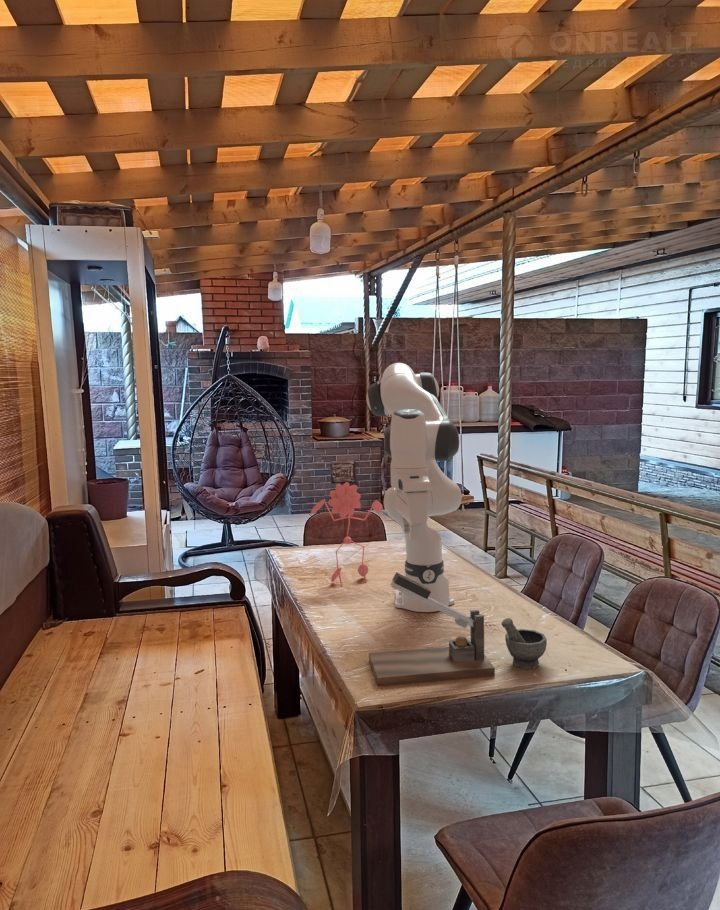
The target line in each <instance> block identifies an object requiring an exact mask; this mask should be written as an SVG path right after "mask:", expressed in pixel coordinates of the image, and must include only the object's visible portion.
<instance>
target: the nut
mask: <svg viewBox="0 0 720 910" xmlns="http://www.w3.org/2000/svg"><path fill="white" fill-rule="evenodd" d="M467 639H468V638H467V637H466V636H464V635H458V636H457V637H456V638H455V639H454V640H455V643H456V645H457V647H466V646H467V644H468V641H467Z"/></svg>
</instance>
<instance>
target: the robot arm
mask: <svg viewBox="0 0 720 910" xmlns="http://www.w3.org/2000/svg"><path fill="white" fill-rule="evenodd" d="M439 396H440V386H439V383H438V381H437V379H436V377H435V376H434V374H432V373H431V372H424V371H423V372H420V373H416V372H414V371H413V369H412V367H410V366H409V365H408V364H407V363H403V362H395V363H392V364H390V365H388V366H387V367H386V368H385V370H384V371H383V373H382V376H381V379H380V381H375V382H374V383H372V384H371V385H370V386H369V387H368V388H367V393H366V404H367V407H368V408H369V410H370V411H371V414H373V415H374V416H376V417H386V416H391V421H390V424H389V425H388V426H387V427H386V428H385V429H384V430H383V432H382V433H383V437H384V450H383V454H385V455H386V456H388V457H389V458H390V459H391V460H390V461H391V462H390V465H389V466H390V486H391V487H389V488H388V489H387V490H386V492H385V494H384V497H383V507H384V510H385V512H386V514H388V516H389V517H390V518H392V519H393V520H394V521H396V523H397V524H398V525H399V526H400V528H401V529H402V532H403V535H404V539H405V540H404V541H405V551H406V552H405V553H406V554H405V555H406V559H405V562H404V573H403V574H402V575H403V576H405V577H407V578H409V579H411V580H413V581H415V582H417V583H419V584H421V585H423V586H425V587H427V588H429V590H430V591H431V593H430V595H429V597H430V598H432V599H434V600H436V601H438V602H440V603H442V604H444V605H446V606H448V607H450V606H451V605H454V604H455V599H454V598H452V597H451V596H450V581H449V577H448V576H447V575H445V573H444V572H445V571H444V569H445V564H444V563H445V562H444V559H443V541H442V539H443V538H442V536H441V534H440V533H439V532H438V531H437V530H435V529H434V528H431V527H429V526H428V523H427V521H428V517H430V518H431V517H434V516H435V517H436V516H443V515H447V514H450V513H452V512H454V511H457V510H458V509H459V508H460V506H461V503H462V499H463V495H462V491H461V488H460V487H459V485H458V484H457V483H456V482H455V481H454V480H452V479H450V478H449V477H448V476H447V475H446V474H445V473H444V472H443V471H442V469H441V468H440V467H439V464H438V462H437V461H442V462H443V461H444V462H445V461H446V462H447V461H449V460H451V459H452V458H453V457H454V456H455V455H456V454H457V453H458V452H459V449H460V448H459V447H460V435H459V434H460V433H459V432H458V429H457V426H456V425H455V424H454V422H452V421H451V420H450V419H449V417H448V416H447V414H446V412H445V410H444V409H443V407H442V405H441V404H440V401H439ZM394 599H395V600H394V601H395V602H394V607H395V608H398V609H405V610H408V611H411V612H417V613H419V612H420V613H432V612H433V613H435V612H439V610H437V609H435V608H433V607H431V606H429V605H427V604H425V603H423V602H421V601H419V600H417V599H415V598H413V597H411V596H409V595H407V594H405V593H403V592H401V591H399V590H397V589H395V598H394Z"/></svg>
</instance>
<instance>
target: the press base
mask: <svg viewBox="0 0 720 910" xmlns="http://www.w3.org/2000/svg"><path fill="white" fill-rule="evenodd" d="M469 612H470V613H469V614H470V615H469V617H471V618H473V619H475V628H474V627H472V626H470V625H469V627H470V628H469V629H470V639H469V638H467V641H468V644H467V646H466V647H457V645H456V643H455V640H456V639H454V640H453V639H452V640H448V646H439V647H430V648H417V649H404V650H391V651H378V652H377V651H376V652H369V653H368V660H369V664H370V667H371V669H372V673H373V676H374V678H375V683H376V685H377V687H382V686H384V687H385V686H396V685H404V684H405V685H406V684H417V683H418V684H419V683H429V682H441V681H451V680H463V679H471V678H472V679H473V678H485V677H495V675H496V672H495V671H496V669H495V666H494V665H493V663H492V662H491V661H490V660H489V659H488V657H487V655H486V654H485V615H483V614H480V610H479V609H471V610H470V611H469Z"/></svg>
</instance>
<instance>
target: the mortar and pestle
mask: <svg viewBox="0 0 720 910" xmlns="http://www.w3.org/2000/svg"><path fill="white" fill-rule="evenodd" d="M501 626H502V628H504V629H505V631H506V633H505V645H506V648H507V651H508V652H509V654H510V656H511V657H512V663H513V665H514V666H515V665H516V666H515V667H517V666H518V667H517V668H519V667H520V668H519V669H524V668H527V669H526V670H529V669H528V668H532V669H535V668H534V667H536V666H537V665H538V664H539V665H540V663H539V659H540V658H541V657H542V656H544V653H545V652H546V650H547V644H548V643H547V637H546V635H545V634H544V633H542V632H540V631H536V630H533V629H525V628H521V629H519V628H518V629H517V627H516V626H515V625H514V621H513V619H512V617H506V618H505V619H503V620H502V621H501ZM537 667H538V666H537ZM537 667H536V668H537Z"/></svg>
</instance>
